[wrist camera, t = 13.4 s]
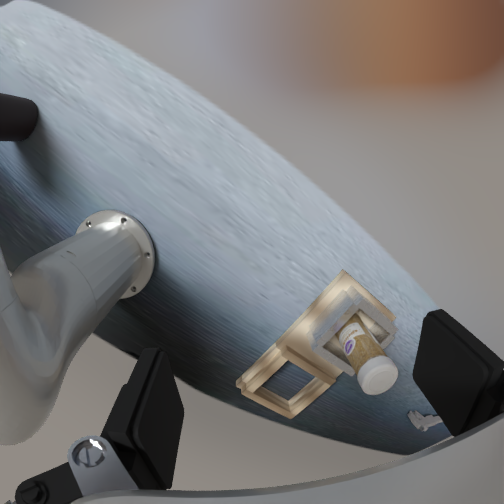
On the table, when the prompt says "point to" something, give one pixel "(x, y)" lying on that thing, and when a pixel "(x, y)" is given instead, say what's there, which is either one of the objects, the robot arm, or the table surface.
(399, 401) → the table surface
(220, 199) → the table surface
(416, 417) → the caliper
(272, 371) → the stand board
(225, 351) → the table surface
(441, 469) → the robot arm
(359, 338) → the sprinkles bottle
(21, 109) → the vinegar
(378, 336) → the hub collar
